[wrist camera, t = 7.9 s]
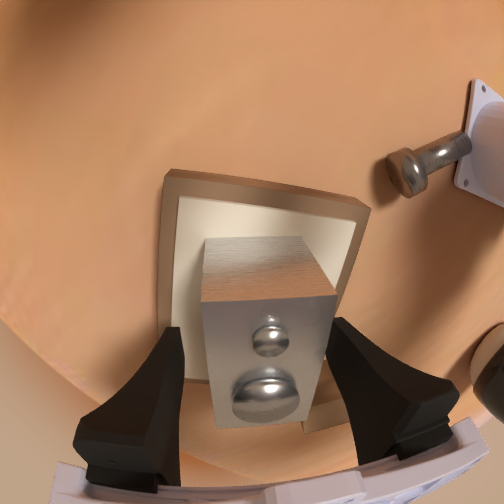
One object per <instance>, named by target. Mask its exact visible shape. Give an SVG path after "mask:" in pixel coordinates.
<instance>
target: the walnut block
mask: <svg viewBox="0 0 504 504" xmlns="http://www.w3.org/2000/svg"><path fill="white" fill-rule="evenodd" d="M347 422H350V420H349V416H348V413H347V409H346V406H345V403H344V401H343V398H342V396H341V393H340V391H339V389H338V386H337V384H336V382H335V380H334V377H333V375H332V372H331V370H330V368H329V365H328V362H327V360H323V364H322V368H321V372H320V375H319V379H318V383H317V387H316V390H315V394H314V397H313V401H312V404H311V408H310V411H309V414H308V418H307V420H306V421H301V425H302V428H303V432H304V434H307V433H311V432H315V431H319V430H322V429H326V428H330V427H333V426H337V425H340V424H344V423H347Z"/></svg>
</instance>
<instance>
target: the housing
mask: <svg viewBox="0 0 504 504" xmlns="http://www.w3.org/2000/svg"><path fill="white" fill-rule="evenodd" d="M337 298H338V294H337V292H336V290H335V289H334V287H333V285H332V284H331V282H330V281H329V279H328V277H327V276H326V274H325V273H324V271H323V270H322V268H321V266H320V265H319V263H318V262H317V260H316V259H315V257H314V255H313V254H312V252H311V251H310V249H309V248H308V246H307V245H306V243H305V242H304V240H303V239H302V237H301V236H259V237H222V238H206V239H205V251H204V263H203V276H202V291H201V310H202V320H203V330H204V339H205V348H206V357H207V365H208V374H209V381H210V389H211V396H212V404H213V411H214V417H215V424H216V428H239V427H254V426H265V425H275V424H284V423H292V422H299V421H306V420H307V418H308V414H309V411H310V408H311V404H312V401H313V397H314V394H315V390H316V387H317V383H318V379H319V375H320V372H321V368H322V364H323V360H324V356H325V352H326V348H327V344H328V339H329V335H330V331H331V326H332V322H333V317H334V312H335V308H336V303H337Z"/></svg>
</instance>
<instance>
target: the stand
mask: <svg viewBox="0 0 504 504" xmlns="http://www.w3.org/2000/svg"><path fill="white" fill-rule="evenodd" d="M370 212H371V208H370V207H368V206H367V205H365V204H364V203H362V202H361V201H359V200H358V199H356V198H354V197H349V196H345V195H340V194H335V193H330V192H325V191H320V190H314V189H309V188H304V187H298V186H293V185H287V184H281V183H275V182H269V181H263V180H256V179H249V178H243V177H236V176H228V175H221V174H213V173H205V172H197V171H188V170H179V169H171V170H170V171H169V172H168V173H167V174H166V175H165V176H164V185H163V196H162V209H161V223H160V240H159V262H158V340H159V339H160V337H161V335H162V333H163V332H164V330H165V328H166V327H180V332H181V337H182V343H183V349H184V354H185V377H184V382H190V383H201V384H210V381H209V374H208V365H207V357H206V348H205V339H204V330H203V320H202V310H201V291H202V276H203V263H204V251H205V239H206V238H222V237H259V236H301V237H302V239H303V240H304V242H305V243H306V245H307V246H308V248H309V249H310V251H311V252H312V254H313V255H314V257H315V259H316V260H317V262H318V263H319V265H320V266H321V268H322V270H323V271H324V273H325V274H326V276H327V277H328V279H329V281H330V282H331V284H332V285H333V287H334V289H335V290H336V292H337V294H338V298H337V303H336V308H335V312H334V317H335V314H336V312H337V309H338V307H339V304H340V301H341V299H342V296H343V293H344V291H345V288H346V285H347V283H348V280H349V277H350V274H351V271H352V268H353V265H354V263H355V260H356V257H357V254H358V251H359V248H360V244H361V241H362V238H363V235H364V232H365V229H366V225H367V222H368V219H369V215H370ZM334 317H333V318H334Z"/></svg>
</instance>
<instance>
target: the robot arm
mask: <svg viewBox="0 0 504 504" xmlns="http://www.w3.org/2000/svg"><path fill="white" fill-rule="evenodd" d="M465 133H466V134H467V135H468V136H469V138H470V140H471V143H472V152H471V153H470V154H468V155H466V156H464V157H462V158H460V159H459V161H458V165H457V169H456V173H455V177H454V184H455V186H456V187H458V188H461V189H463V190H466V191H468V192H470V193H473V194H475V195H477V196H479V197H482V198H484V199H486V200H488V201H490V202H493V203H495V204H497V205H499V206H501V207H503V208H504V99H503V98H502V97H501V96H500V95H498V94H497V93H496V92H495V91H494V90H492V89H491V88H490V87H489V86H487V85H486V84H485V83H484V82H482V81H481V80H480V79H473V80H472V85H471V94H470V102H469V109H468V115H467V121H466V127H465ZM464 181H465V183H464ZM325 354H326V358H327V362H328V365H329V368H330V370H331V372H332V375H333V377H334V380H335V382H336V384H337V386H338V389H339V391H340V393H341V396H342V398H343V401H344V403H345V406H346V409H347V413H348V416H349V420H350V424H351V428H352V432H353V436H354V441H355V446H356V451H357V458H358V464H359V466H357V467H354V468H350V469H346V470H342V471H338V472H334V473H329V474H325V475H320V476H315V477H310V478H304V479H298V480H292V481H285V482H278V483H269V484H260V485H249V486H232V487H181V480H180V464H179V413H180V406H181V398H182V391H183V384H184V377H185V354H184V349H183V343H182V337H181V332H180V327H166V328H165V330H164V332H163V333H162V335H161V337H160V339H159V340H158V342H157V344H156V345H155V347H154V349H153V350H152V352H151V353H150V355H149V356H148V358H147V359H146V360H145V362H144V363H143V364H142V366H141V367H140V368H139V370H138V371H137V372H136V373H135V374H134V376H133V377H132V378H131V379H130V380H129V381H128V382H127V383H126V384H125V385H124V386H123V387H122V388H121V389H120V390H119V391H118V392H117V393H116V394H115V395H114V396H113V397H111V398H110V399H109V400H107V401H106V402H105V403H104V404H102V405H101V406H100V407H98V408H97V409H95V410H94V411H92V412H90V413H89V414H87V415H86V416H84V417H82V418H81V419H80V422H79V424H78V426H77V429H76V433H75V436H74V440H73V447H74V449H75V450H76V452H77V453H78V454H79V455H80V456H81V457H82V458H83V459H84V460H85V461H86V462H87V463H88V468H87V470H86V469H84V468H82V467H79V466H75V465H71V464H67V463H63V462H58V463H57V467H56V471H55V476H54V480H53V484H52V489H51V494H50V499H49V504H409V503H411V502H413V501H415V500H417V499H419V498H421V497H423V496H425V495H427V494H429V493H430V492H432V491H434V490H436V489H438V488H440V487H441V486H443V485H445V484H447V483H448V482H450V481H452V480H454V479H456V478H457V477H459V476H461V475H462V474H464V473H465V472H466V471H467V470H469V469H470V468H471V467H472V466H474V465H475V464H476V463H477V462H478V461H479V460H481V459H482V458H483V457H484V456H485V455H486V454H487V453H488V452H489V451H490V449H489V447H488V446H487V444H486V442H485V441H484V439H483V437H482V436H481V434H480V432H479V431H478V429H477V427H476V426H475V424H474V422H473V421H472V419H471V418H470V417H467V418H465V419H463V420H462V421H460V422H458V423H456V424H454V425H453V426H451V427H449V425H448V424H447V423H449V422H450V419H449V418H448V416H447V415H448V414H449V412H450V411H451V410H452V408H453V407H454V406H455V404H456V403H457V401H458V399H459V396H460V394H459V392H458V390H457V389H456V387H455V386H454V384H453V383H452V381H450V380H446V379H442V378H439V377H435V376H432V375H430V374H427V373H424V372H422V371H419V370H417V369H415V368H413V367H411V366H408V365H406V364H405V363H403V362H401V361H399V360H397V359H396V358H394V357H392V356H391V355H389V354H388V353H386V352H385V351H383V350H382V349H381V348H379V347H378V346H376V345H375V344H374V343H373V342H371V341H370V340H369V339H368V338H366V337H365V336H364V335H363V334H362V333H360V332H359V331H358V330H357V329H356V328H354V327H353V326H352V325H351V324H350V323H349V322H347V321H346V320H345V319H344V318H343V317H337V318H333V322H332V326H331V331H330V335H329V339H328V344H327V348H326V352H325Z"/></svg>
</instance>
